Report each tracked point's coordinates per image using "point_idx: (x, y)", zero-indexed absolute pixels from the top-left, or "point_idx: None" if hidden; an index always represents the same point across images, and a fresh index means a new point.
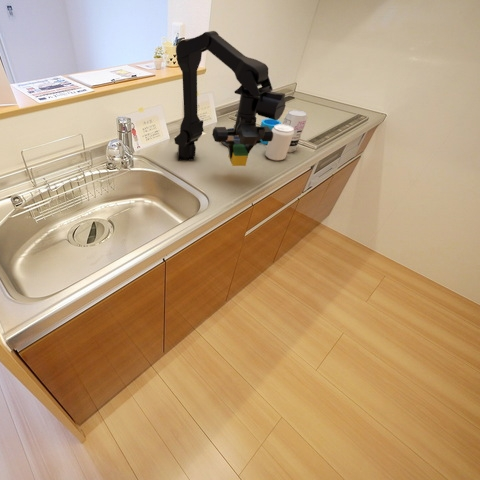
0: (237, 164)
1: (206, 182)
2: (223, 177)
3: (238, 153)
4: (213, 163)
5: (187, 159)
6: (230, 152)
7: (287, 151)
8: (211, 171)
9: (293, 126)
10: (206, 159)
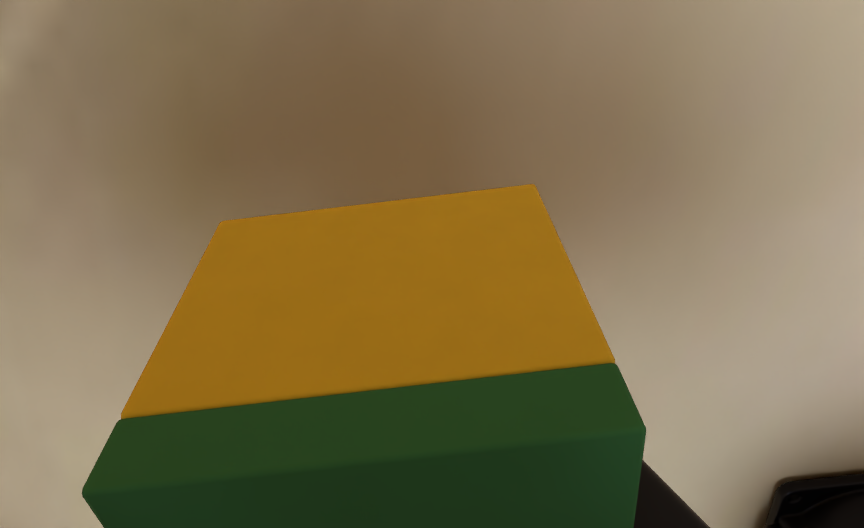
0: (426, 213)
1: (811, 54)
2: None
3: (504, 452)
4: None
5: (855, 482)
6: (680, 520)
7: None
8: (653, 318)
9: None
10: None
